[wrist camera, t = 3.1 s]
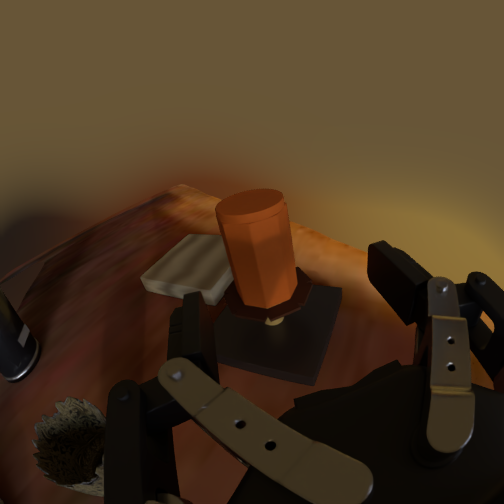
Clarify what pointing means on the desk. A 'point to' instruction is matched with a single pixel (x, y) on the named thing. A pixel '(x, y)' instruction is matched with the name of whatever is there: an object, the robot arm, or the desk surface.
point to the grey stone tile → (192, 269)
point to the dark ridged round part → (73, 446)
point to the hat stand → (281, 339)
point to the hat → (261, 256)
